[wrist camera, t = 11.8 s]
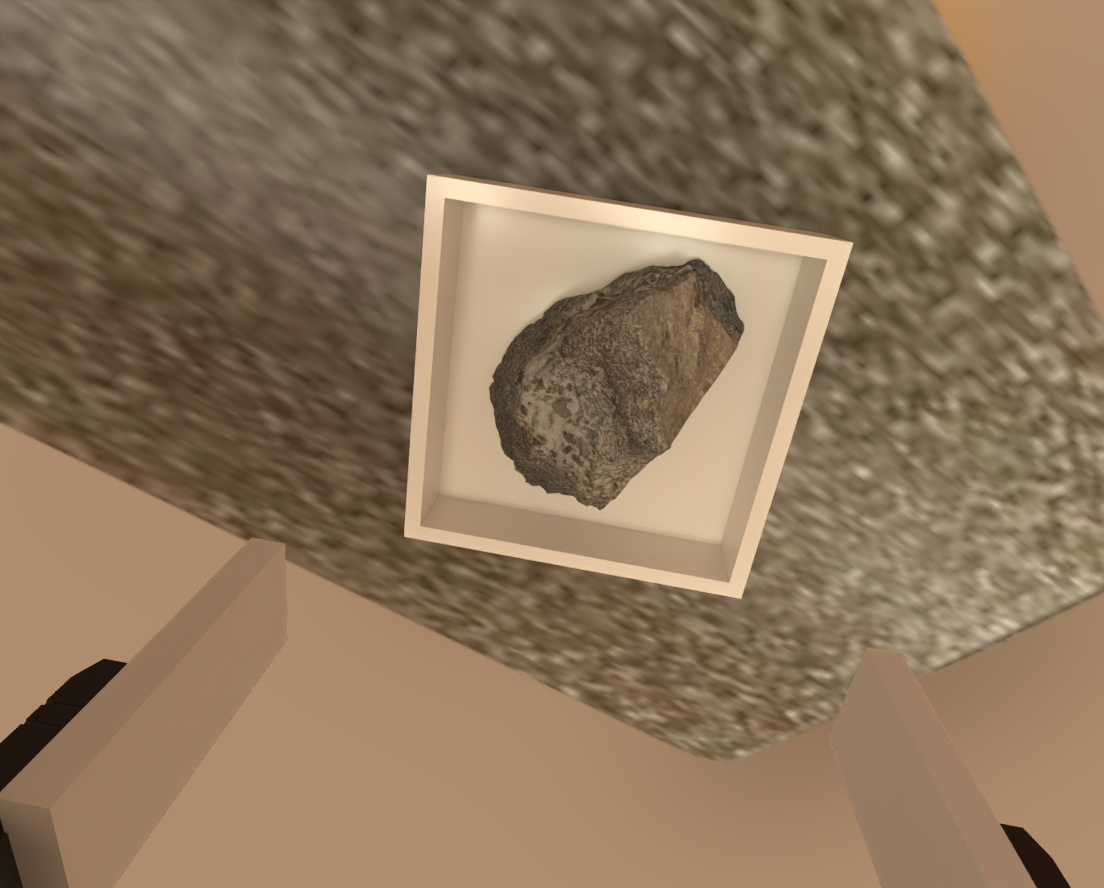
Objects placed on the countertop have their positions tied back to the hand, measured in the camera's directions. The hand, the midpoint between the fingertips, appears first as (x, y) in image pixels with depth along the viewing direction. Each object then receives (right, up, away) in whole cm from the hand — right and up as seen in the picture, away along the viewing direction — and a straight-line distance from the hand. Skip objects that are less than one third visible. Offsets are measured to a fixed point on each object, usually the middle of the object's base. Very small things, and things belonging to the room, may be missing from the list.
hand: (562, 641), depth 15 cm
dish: (+2, +8, +19) cm, 21 cm away
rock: (+2, +9, +18) cm, 21 cm away
